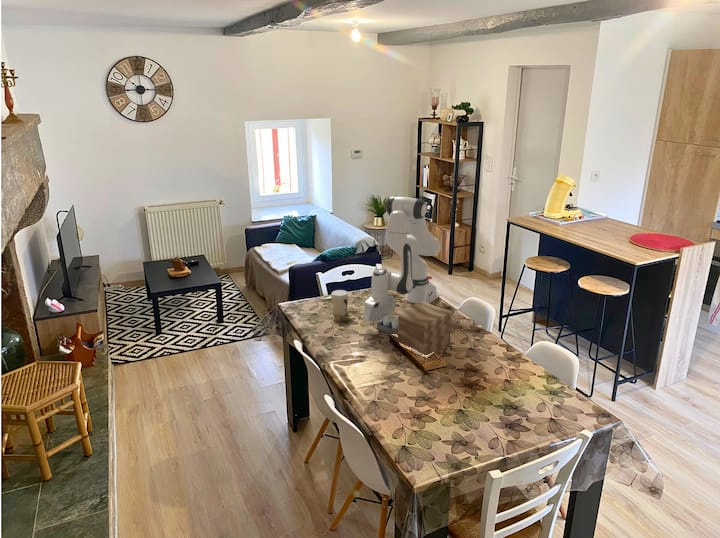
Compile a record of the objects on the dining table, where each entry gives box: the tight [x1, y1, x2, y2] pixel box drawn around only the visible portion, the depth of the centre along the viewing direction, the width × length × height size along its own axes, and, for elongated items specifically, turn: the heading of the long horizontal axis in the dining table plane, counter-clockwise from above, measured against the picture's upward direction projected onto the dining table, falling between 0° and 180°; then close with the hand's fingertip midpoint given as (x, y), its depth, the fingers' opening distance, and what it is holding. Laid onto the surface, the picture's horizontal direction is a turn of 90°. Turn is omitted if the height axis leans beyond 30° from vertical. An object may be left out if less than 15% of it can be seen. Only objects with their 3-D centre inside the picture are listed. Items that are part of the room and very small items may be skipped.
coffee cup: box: [330, 289, 349, 316], centre depth 307 cm, size 9×9×12 cm
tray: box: [376, 314, 398, 336], centre depth 282 cm, size 6×20×8 cm, turn 43°
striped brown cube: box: [395, 301, 453, 355], centre depth 268 cm, size 19×19×18 cm
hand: (379, 323), depth 290 cm, fingers closed
